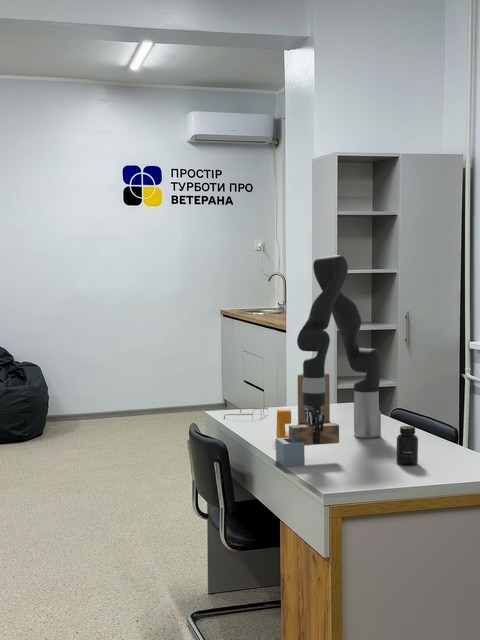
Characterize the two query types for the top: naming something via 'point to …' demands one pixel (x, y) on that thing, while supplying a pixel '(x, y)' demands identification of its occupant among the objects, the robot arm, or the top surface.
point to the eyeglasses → (248, 414)
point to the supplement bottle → (407, 446)
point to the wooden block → (301, 414)
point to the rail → (306, 434)
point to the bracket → (283, 422)
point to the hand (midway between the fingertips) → (314, 441)
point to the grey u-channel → (289, 452)
